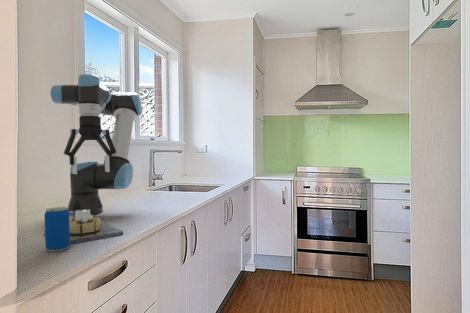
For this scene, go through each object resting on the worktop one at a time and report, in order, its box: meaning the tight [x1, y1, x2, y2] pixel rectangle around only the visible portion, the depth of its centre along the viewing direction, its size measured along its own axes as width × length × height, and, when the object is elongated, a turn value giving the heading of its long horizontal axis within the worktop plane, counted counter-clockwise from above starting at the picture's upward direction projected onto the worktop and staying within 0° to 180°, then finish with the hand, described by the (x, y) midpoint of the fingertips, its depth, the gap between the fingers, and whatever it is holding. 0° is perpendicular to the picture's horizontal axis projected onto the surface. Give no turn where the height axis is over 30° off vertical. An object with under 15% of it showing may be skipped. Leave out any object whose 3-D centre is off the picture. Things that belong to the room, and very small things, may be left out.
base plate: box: [70, 209, 124, 245], centre depth 120 cm, size 20×20×8 cm
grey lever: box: [69, 211, 102, 233], centre depth 125 cm, size 22×11×4 cm, turn 40°
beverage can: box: [44, 206, 71, 253], centre depth 103 cm, size 6×6×12 cm
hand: (91, 172), depth 134 cm, fingers open, 11 cm apart
